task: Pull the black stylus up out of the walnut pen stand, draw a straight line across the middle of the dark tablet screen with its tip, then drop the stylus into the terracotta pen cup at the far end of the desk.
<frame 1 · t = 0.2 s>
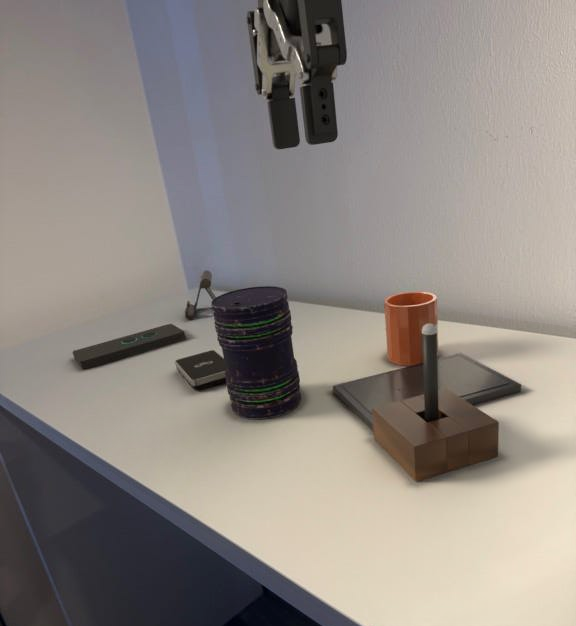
hand: (303, 146, 42), 31 cm above the table, tool pointing down, fingers open, 8 cm apart
external hard drive: (206, 377, 86), on the table
tablet: (422, 391, 71), on the table
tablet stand: (205, 313, 121), on the table
pen stand: (432, 447, 58), on the table
storage jar: (266, 403, 74), on the table
stylus: (430, 388, 55), in the pen stand
pen cup: (412, 356, 82), on the table
smart home device: (131, 349, 104), on the table
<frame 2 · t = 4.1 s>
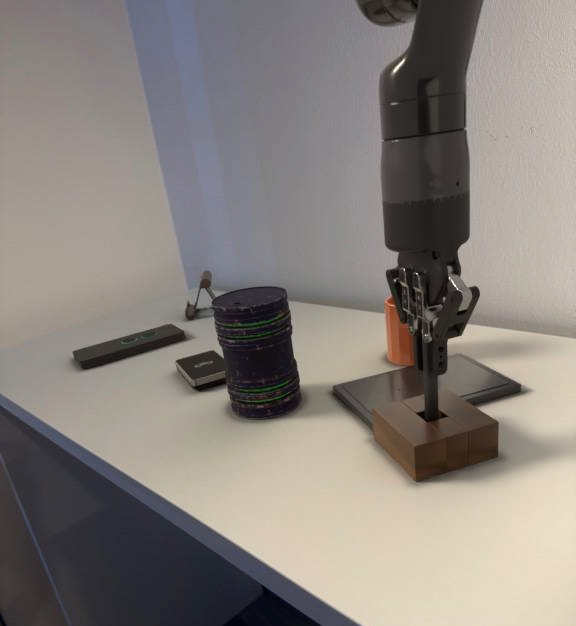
hand: (430, 370, 55), 9 cm above the table, tool pointing down, fingers closed on stylus, 1 cm apart
stylus: (431, 388, 55), in the pen stand, touching gripper
everything else where it was.
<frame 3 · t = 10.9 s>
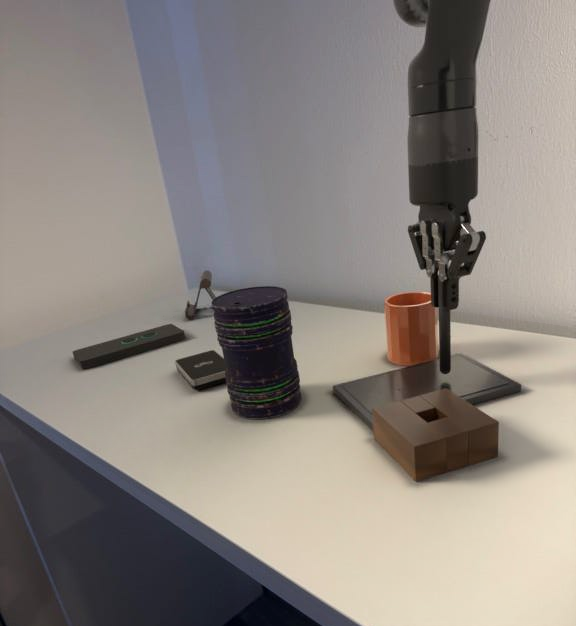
hand: (444, 307, 67), 11 cm above the table, tool pointing down, fingers closed on stylus, 1 cm apart
stylus: (444, 322, 68), point 9 cm above the table, touching gripper
everything else where it was.
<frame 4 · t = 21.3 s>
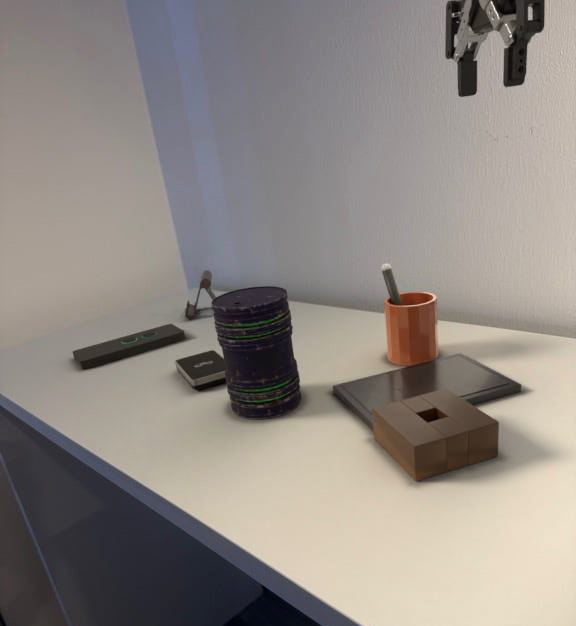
hand: (489, 91, 63), 34 cm above the table, tool pointing down, fingers open, 8 cm apart
stylus: (398, 309, 80), in the pen cup, tilted 17°
everything else where it was.
at the end: stylus 0.0 cm off-centre in the pen cup, point 7.2 cm above the pen cup's base; the gripper is holding nothing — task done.
